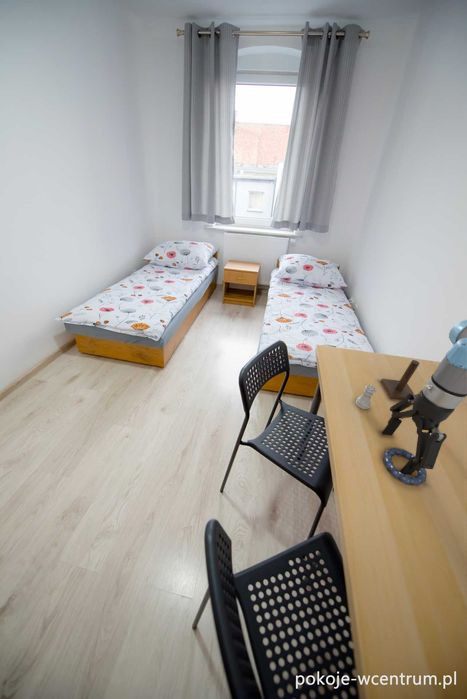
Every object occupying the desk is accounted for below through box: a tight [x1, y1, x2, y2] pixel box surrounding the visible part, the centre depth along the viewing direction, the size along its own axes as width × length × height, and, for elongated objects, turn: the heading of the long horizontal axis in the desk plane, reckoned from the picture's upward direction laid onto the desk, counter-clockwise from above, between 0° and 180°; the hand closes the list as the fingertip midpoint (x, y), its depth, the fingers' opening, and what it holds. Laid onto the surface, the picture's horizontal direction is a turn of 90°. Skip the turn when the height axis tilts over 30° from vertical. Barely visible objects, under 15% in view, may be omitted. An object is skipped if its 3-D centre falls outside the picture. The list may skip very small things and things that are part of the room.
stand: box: [380, 359, 420, 401], centre depth 96 cm, size 9×9×14 cm
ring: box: [382, 447, 427, 487], centre depth 74 cm, size 10×10×2 cm
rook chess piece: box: [355, 384, 377, 410], centre depth 90 cm, size 4×4×8 cm
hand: (395, 452), depth 78 cm, fingers open, 12 cm apart
